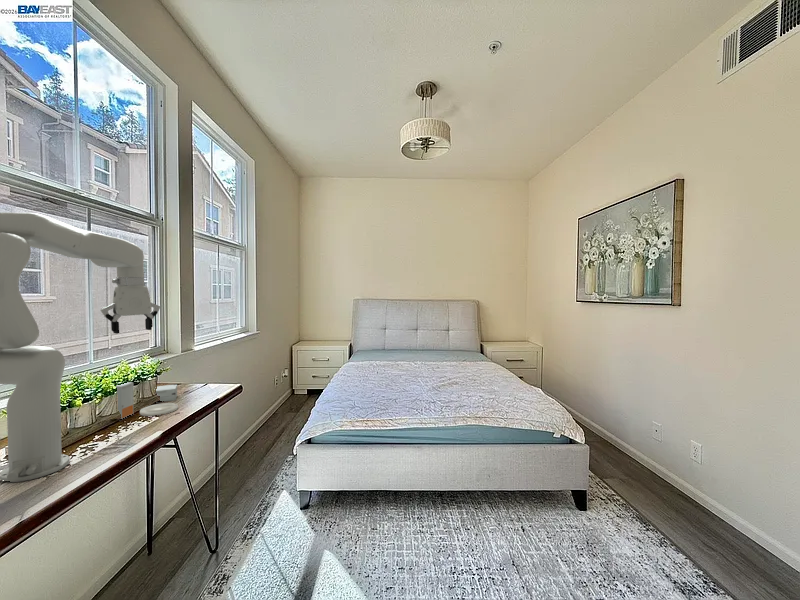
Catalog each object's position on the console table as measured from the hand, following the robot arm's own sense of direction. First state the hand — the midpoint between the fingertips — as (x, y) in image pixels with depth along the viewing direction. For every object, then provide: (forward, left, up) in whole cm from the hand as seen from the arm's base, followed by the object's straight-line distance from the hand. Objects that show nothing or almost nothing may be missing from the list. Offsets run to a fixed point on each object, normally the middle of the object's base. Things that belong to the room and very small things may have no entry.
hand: (132, 331), depth 126 cm
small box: (+22, -8, -32) cm, 39 cm away
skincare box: (+5, +4, -31) cm, 32 cm away
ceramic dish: (+7, -7, -31) cm, 33 cm away
